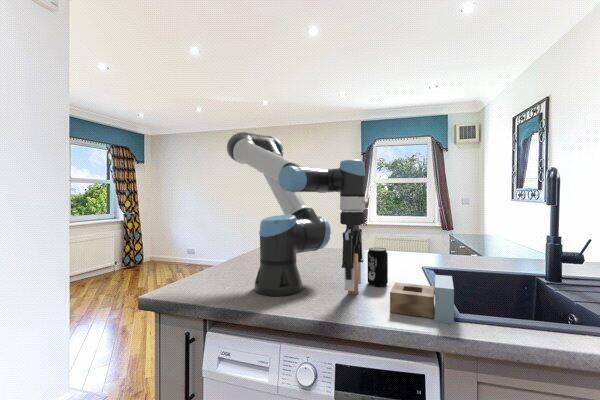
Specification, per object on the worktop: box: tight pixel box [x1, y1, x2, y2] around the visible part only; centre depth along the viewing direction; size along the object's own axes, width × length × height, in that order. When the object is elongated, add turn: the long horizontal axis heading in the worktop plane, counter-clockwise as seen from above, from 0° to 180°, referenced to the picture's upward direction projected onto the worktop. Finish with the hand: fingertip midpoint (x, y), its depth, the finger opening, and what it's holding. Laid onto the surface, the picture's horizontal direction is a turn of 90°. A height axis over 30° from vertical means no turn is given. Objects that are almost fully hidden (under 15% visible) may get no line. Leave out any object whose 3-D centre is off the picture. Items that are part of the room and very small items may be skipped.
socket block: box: [389, 282, 435, 319], centre depth 81 cm, size 10×10×5 cm
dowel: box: [347, 253, 359, 296], centre depth 94 cm, size 3×3×12 cm
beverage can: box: [367, 247, 389, 288], centre depth 104 cm, size 7×7×12 cm
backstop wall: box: [434, 274, 455, 325], centre depth 77 cm, size 4×13×8 cm, turn 156°
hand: (353, 286), depth 94 cm, fingers open, 7 cm apart
